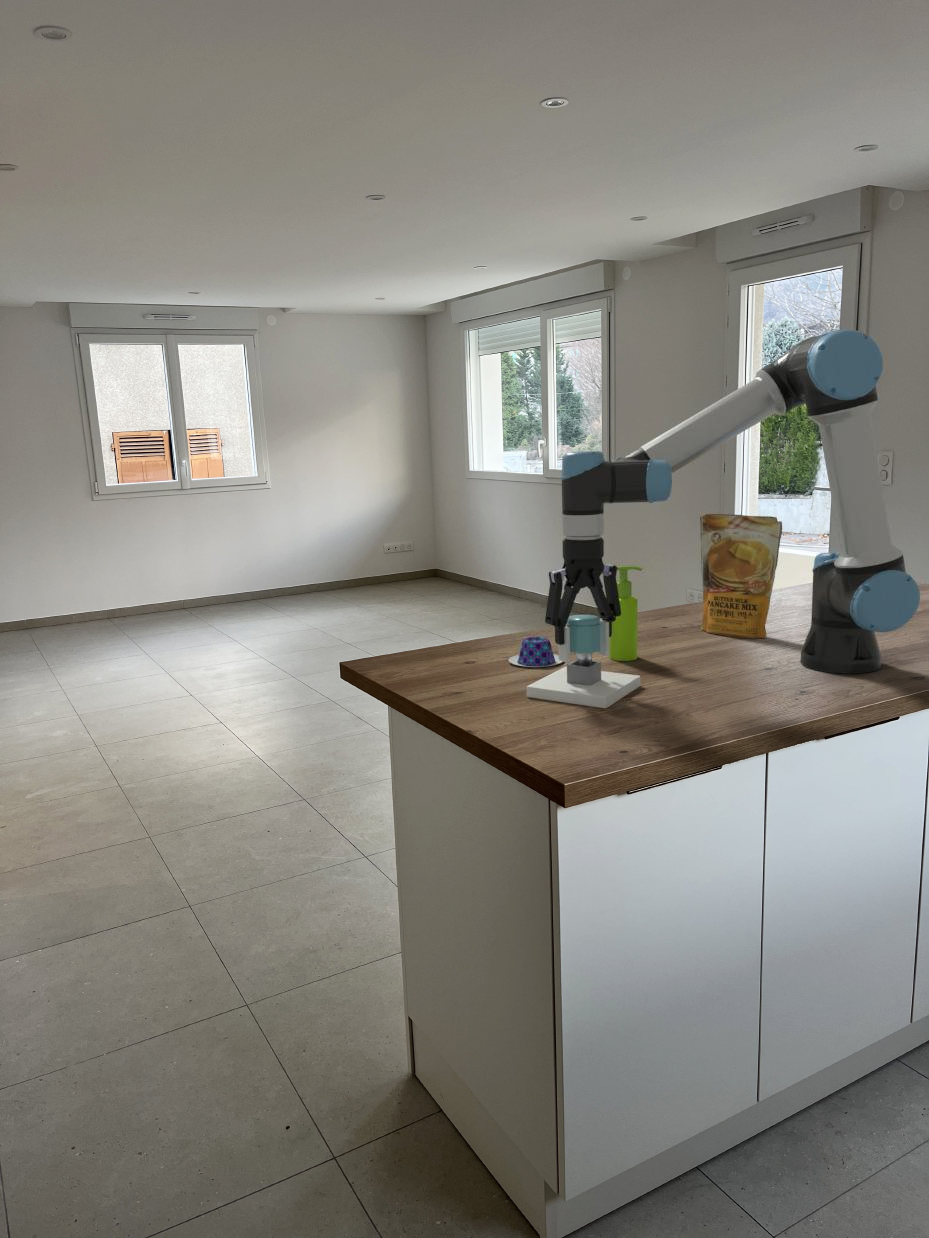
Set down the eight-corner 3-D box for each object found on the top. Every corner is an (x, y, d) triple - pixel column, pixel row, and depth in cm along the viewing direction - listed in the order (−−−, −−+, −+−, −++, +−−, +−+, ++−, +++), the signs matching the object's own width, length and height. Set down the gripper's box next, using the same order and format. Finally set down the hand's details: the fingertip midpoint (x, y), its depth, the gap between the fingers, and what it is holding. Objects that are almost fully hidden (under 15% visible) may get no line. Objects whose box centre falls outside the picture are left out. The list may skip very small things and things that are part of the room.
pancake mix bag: (704, 626, 222) (706, 512, 216) (779, 635, 209) (784, 515, 204) (691, 631, 217) (693, 515, 211) (767, 641, 204) (772, 517, 199)
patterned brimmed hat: (534, 673, 186) (533, 648, 185) (497, 663, 195) (496, 639, 194) (576, 662, 193) (575, 639, 192) (538, 653, 202) (537, 630, 201)
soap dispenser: (642, 661, 191) (642, 568, 187) (609, 660, 192) (608, 568, 188) (642, 654, 196) (642, 563, 192) (610, 654, 198) (610, 564, 194)
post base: (640, 685, 173) (640, 658, 172) (605, 708, 160) (605, 678, 159) (565, 676, 181) (564, 649, 180) (526, 696, 168) (526, 668, 167)
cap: (566, 645, 172) (566, 614, 171) (599, 645, 171) (599, 614, 170) (567, 653, 166) (567, 621, 165) (600, 653, 165) (600, 621, 164)
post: (595, 673, 170) (595, 622, 168) (588, 677, 168) (587, 625, 166) (580, 671, 172) (579, 620, 170) (572, 675, 169) (572, 623, 167)
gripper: (617, 530, 173) (617, 646, 177) (523, 539, 163) (525, 661, 168) (641, 534, 166) (641, 653, 171) (545, 543, 157) (547, 670, 161)
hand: (583, 657), depth 169 cm, fingers open, 8 cm apart
